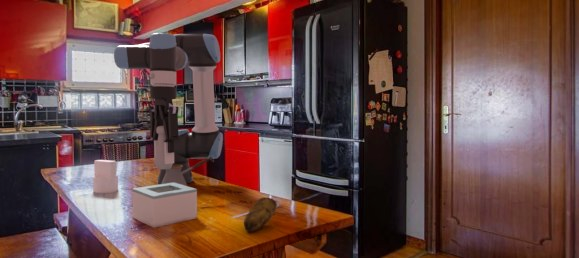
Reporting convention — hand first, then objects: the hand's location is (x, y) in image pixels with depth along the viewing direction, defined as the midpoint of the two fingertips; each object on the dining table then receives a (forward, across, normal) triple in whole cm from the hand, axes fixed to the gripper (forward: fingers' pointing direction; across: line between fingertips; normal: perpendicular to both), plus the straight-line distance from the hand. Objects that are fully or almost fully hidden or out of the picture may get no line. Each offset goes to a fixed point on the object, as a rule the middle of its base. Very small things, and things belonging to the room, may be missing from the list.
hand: (164, 162), depth 120 cm
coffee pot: (+17, -16, +17) cm, 29 cm away
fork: (+18, +14, +24) cm, 33 cm away
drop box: (+17, 0, 0) cm, 17 cm away
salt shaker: (+2, 0, 0) cm, 2 cm away
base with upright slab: (+17, -51, +1) cm, 54 cm away
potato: (+17, +27, +15) cm, 35 cm away
